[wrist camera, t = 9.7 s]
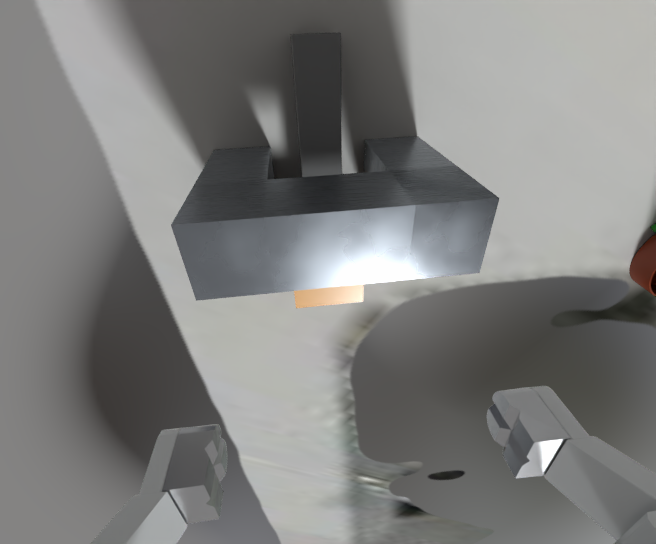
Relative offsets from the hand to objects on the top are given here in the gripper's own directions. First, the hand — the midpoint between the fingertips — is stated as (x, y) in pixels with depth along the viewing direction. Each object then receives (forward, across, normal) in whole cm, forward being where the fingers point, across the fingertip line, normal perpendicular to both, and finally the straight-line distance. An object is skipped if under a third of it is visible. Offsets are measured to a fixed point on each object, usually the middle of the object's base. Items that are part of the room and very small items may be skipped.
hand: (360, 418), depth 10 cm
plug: (+19, 0, -2) cm, 19 cm away
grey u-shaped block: (+18, 0, -2) cm, 19 cm away
